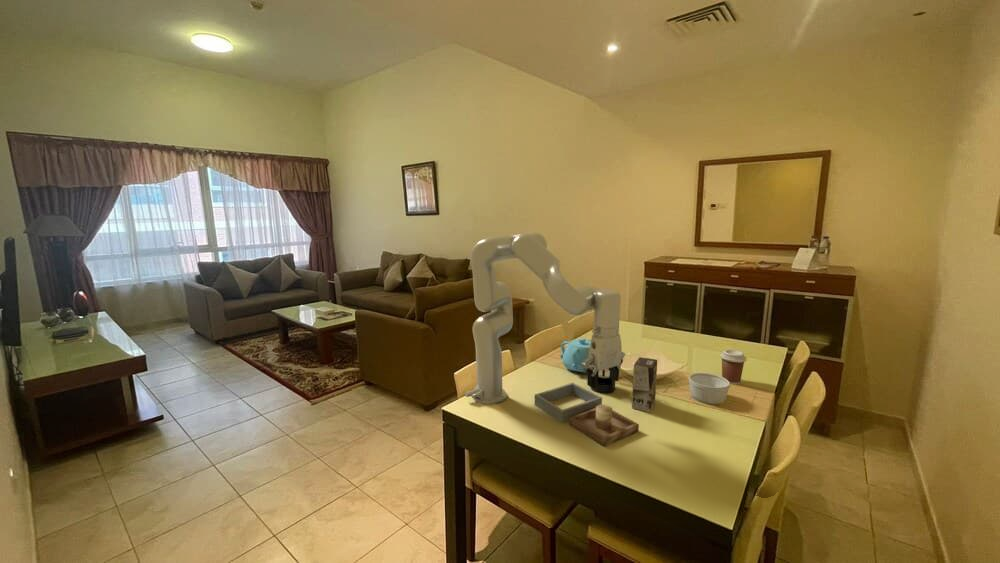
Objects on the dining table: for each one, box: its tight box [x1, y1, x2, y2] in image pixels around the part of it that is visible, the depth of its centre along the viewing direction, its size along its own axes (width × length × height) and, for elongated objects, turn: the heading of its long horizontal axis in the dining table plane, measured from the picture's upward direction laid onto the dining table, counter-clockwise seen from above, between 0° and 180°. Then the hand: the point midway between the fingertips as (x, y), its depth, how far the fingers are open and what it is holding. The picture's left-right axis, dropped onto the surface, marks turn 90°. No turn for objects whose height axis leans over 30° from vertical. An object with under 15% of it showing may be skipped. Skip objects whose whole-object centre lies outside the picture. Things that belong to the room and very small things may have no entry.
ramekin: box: [688, 372, 731, 405], centre depth 147 cm, size 13×13×7 cm
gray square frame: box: [534, 382, 603, 424], centre depth 143 cm, size 18×15×4 cm
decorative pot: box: [559, 337, 593, 374], centre depth 176 cm, size 16×16×14 cm
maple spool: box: [595, 403, 613, 430], centre depth 128 cm, size 5×5×6 cm
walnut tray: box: [569, 408, 640, 448], centre depth 128 cm, size 15×15×2 cm
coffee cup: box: [719, 348, 748, 385], centre depth 160 cm, size 9×9×12 cm
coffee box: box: [631, 356, 658, 413], centre depth 142 cm, size 9×6×16 cm
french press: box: [589, 365, 617, 395], centre depth 155 cm, size 12×9×23 cm
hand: (602, 383), depth 126 cm, fingers open, 9 cm apart
